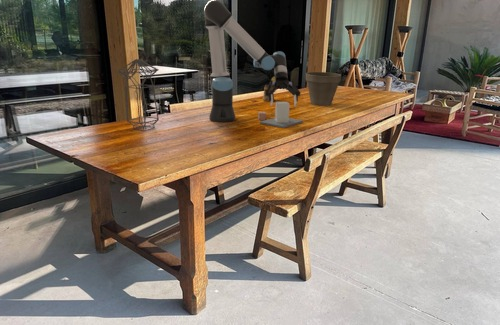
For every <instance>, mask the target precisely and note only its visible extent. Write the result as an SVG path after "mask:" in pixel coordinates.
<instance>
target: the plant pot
mask: <svg viewBox="0 0 500 325" xmlns="http://www.w3.org/2000/svg"><path fill="white" fill-rule="evenodd" d="M341 80H342V74H341V73H340V74H339V73H335V72H329V71H327V72H325V71H310V72H309V71H307V72H305V81H306V83H307V89H308V90H307V91H308V96H309V101H310V104H311V105H313V106H318V107H319V106H320V107H322V106H324V107H327V106H331V105H332V104H333V101H334V98H335V95H336V93H337V89H338V88H339V87H338V86H339V84H340V83H341Z"/></svg>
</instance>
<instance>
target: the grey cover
mask: <svg viewBox="0 0 500 325" xmlns="http://www.w3.org/2000/svg"><path fill="white" fill-rule="evenodd" d="M289 116H290V103H289V102H288V101H275V109H274V118H275V121H276V122H289V118H290V117H289Z"/></svg>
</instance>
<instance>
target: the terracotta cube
mask: <svg viewBox="0 0 500 325" xmlns="http://www.w3.org/2000/svg"><path fill="white" fill-rule="evenodd" d="M257 114H258V116H257V119H258V120H259V121H265V120H267V112H266V111H258V113H257Z"/></svg>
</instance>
